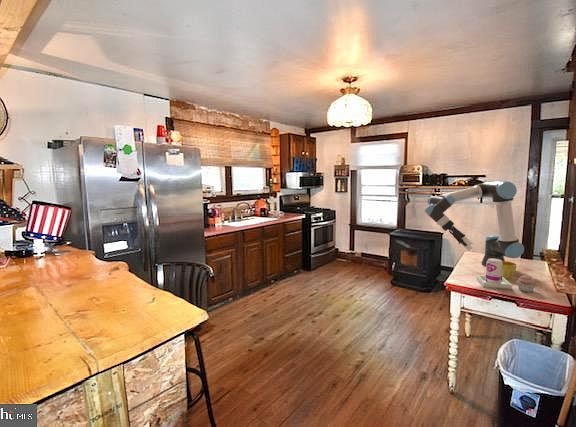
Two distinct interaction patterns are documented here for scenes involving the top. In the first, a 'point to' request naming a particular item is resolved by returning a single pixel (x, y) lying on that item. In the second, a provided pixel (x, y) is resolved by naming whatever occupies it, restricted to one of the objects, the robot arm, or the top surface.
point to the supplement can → (494, 271)
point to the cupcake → (526, 283)
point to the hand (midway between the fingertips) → (470, 247)
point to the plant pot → (508, 269)
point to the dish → (503, 285)
